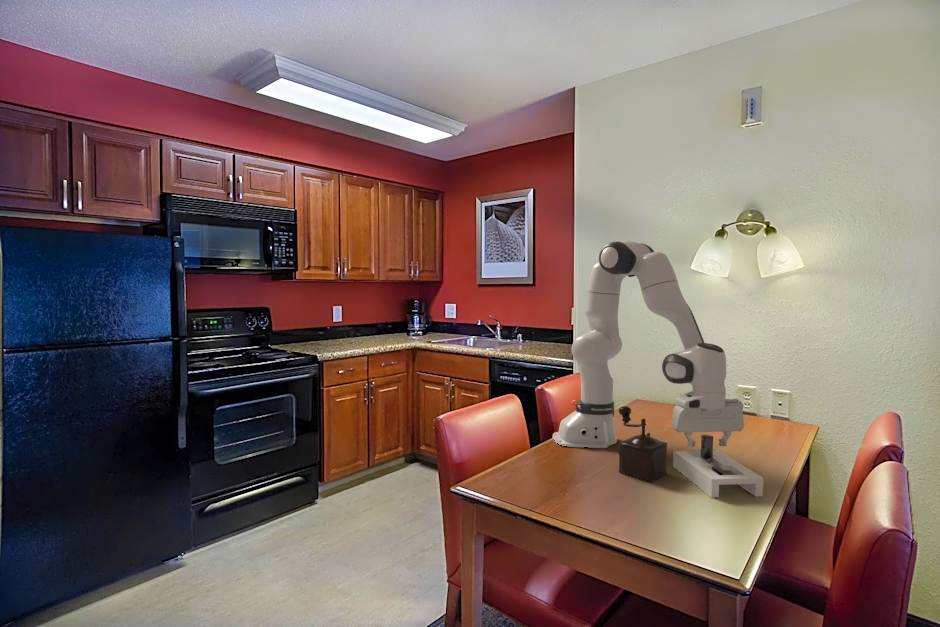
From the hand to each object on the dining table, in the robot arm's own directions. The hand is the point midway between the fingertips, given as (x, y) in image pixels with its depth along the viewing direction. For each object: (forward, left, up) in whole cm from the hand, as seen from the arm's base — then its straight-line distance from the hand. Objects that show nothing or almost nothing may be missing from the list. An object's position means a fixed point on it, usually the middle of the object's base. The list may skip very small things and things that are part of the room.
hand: (707, 445), depth 149 cm
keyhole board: (0, -5, -9) cm, 10 cm away
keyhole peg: (0, 0, -9) cm, 9 cm away
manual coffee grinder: (-19, +4, -9) cm, 22 cm away
